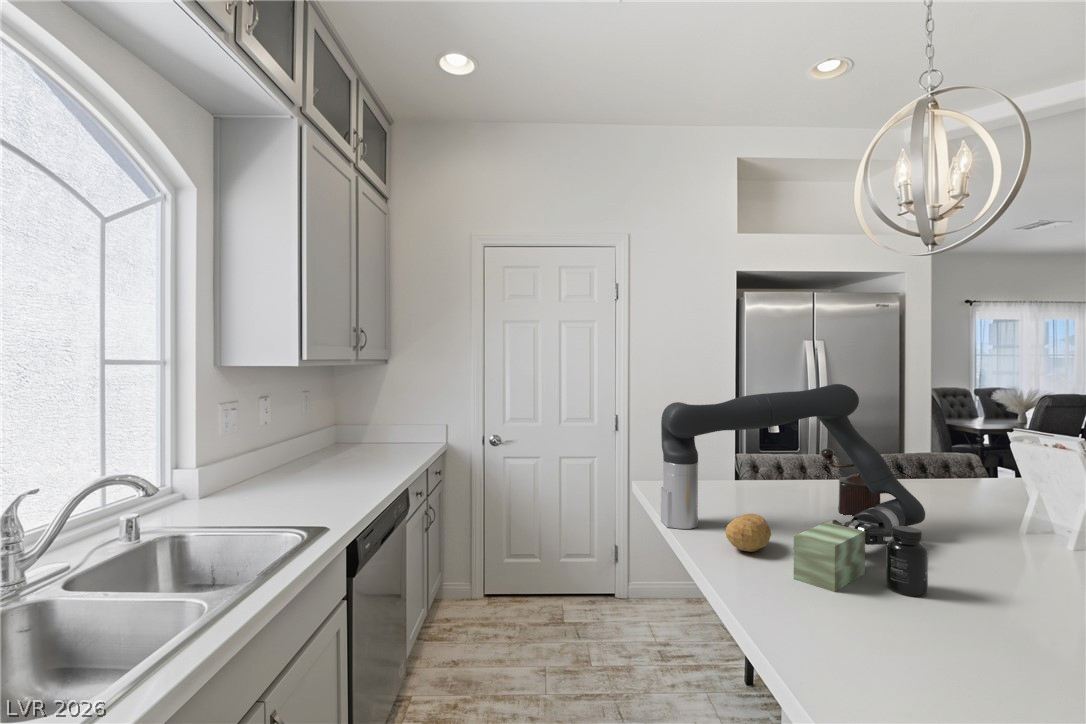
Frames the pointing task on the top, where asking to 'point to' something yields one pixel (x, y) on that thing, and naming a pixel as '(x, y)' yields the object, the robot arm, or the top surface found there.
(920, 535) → the supplement bottle
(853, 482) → the wooden coffee grinder
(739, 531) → the potato
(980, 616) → the top surface
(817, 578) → the sage-green block
